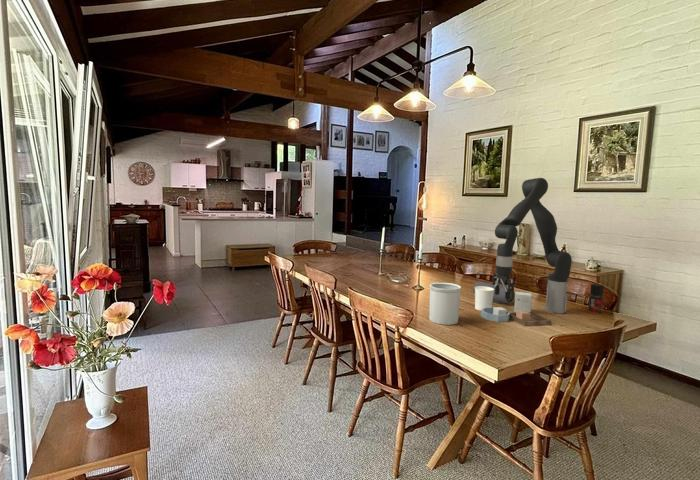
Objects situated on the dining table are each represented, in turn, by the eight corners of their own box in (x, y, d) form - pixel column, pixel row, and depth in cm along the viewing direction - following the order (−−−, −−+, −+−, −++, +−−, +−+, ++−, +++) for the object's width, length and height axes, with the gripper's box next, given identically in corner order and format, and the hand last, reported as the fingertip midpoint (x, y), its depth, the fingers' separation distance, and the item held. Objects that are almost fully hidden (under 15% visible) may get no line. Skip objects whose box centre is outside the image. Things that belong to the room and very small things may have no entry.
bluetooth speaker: (514, 304, 216) (516, 287, 215) (505, 306, 211) (506, 289, 210) (481, 295, 235) (482, 279, 234) (471, 297, 230) (472, 281, 229)
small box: (530, 312, 202) (532, 293, 201) (530, 315, 197) (532, 295, 196) (514, 310, 206) (515, 291, 204) (513, 312, 200) (515, 293, 199)
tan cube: (523, 319, 188) (524, 310, 188) (529, 322, 184) (530, 313, 183) (515, 319, 187) (516, 310, 187) (521, 322, 183) (522, 313, 182)
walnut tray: (530, 316, 195) (531, 311, 194) (550, 326, 181) (551, 320, 181) (506, 317, 192) (506, 312, 191) (524, 327, 178) (525, 322, 178)
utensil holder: (421, 317, 188) (423, 283, 186) (446, 314, 194) (448, 281, 192) (439, 327, 175) (442, 290, 173) (465, 323, 181) (467, 288, 179)
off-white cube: (500, 315, 193) (501, 307, 192) (506, 318, 188) (506, 309, 188) (492, 315, 192) (493, 307, 191) (497, 318, 188) (498, 310, 187)
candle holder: (494, 313, 199) (495, 291, 197) (474, 311, 200) (476, 289, 199) (490, 308, 208) (492, 286, 207) (472, 306, 210) (473, 285, 209)
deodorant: (587, 311, 207) (590, 284, 205) (589, 309, 211) (592, 283, 210) (599, 313, 203) (602, 286, 201) (601, 311, 207) (604, 285, 206)
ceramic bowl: (498, 314, 197) (499, 307, 197) (514, 322, 185) (515, 314, 184) (476, 314, 195) (477, 307, 194) (490, 323, 182) (491, 315, 182)
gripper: (519, 267, 181) (517, 300, 183) (502, 262, 194) (500, 292, 196) (506, 267, 179) (503, 300, 181) (489, 262, 193) (487, 293, 195)
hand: (502, 296), depth 189 cm, fingers open, 8 cm apart
